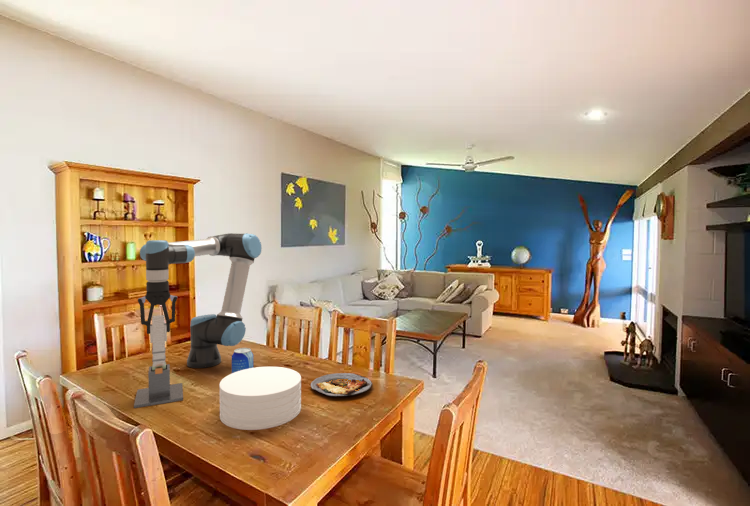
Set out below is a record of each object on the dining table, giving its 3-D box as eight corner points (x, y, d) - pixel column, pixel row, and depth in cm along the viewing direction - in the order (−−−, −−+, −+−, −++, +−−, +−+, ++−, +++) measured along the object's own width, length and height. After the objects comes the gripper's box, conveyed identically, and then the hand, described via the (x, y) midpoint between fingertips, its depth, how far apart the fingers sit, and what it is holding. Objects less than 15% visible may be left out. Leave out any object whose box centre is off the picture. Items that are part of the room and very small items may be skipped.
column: (166, 370, 158) (165, 314, 156) (166, 373, 154) (164, 317, 152) (152, 371, 156) (151, 315, 154) (152, 375, 151) (151, 318, 150)
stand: (182, 385, 166) (181, 356, 165) (183, 400, 152) (182, 368, 151) (137, 391, 159) (136, 361, 158) (133, 408, 144) (133, 375, 144)
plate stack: (258, 439, 125) (258, 403, 124) (202, 416, 139) (202, 383, 139) (316, 406, 148) (317, 375, 148) (263, 389, 163) (263, 361, 163)
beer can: (257, 386, 166) (257, 348, 165) (244, 394, 158) (244, 354, 157) (240, 383, 168) (240, 346, 168) (227, 391, 161) (227, 351, 160)
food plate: (383, 387, 166) (383, 379, 166) (342, 406, 148) (341, 396, 148) (341, 374, 182) (341, 366, 182) (300, 389, 165) (300, 381, 165)
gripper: (182, 278, 160) (183, 336, 161) (132, 280, 152) (133, 341, 153) (182, 280, 153) (183, 341, 154) (130, 283, 145) (131, 346, 147)
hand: (158, 341), depth 154 cm, fingers closed on column, 4 cm apart
